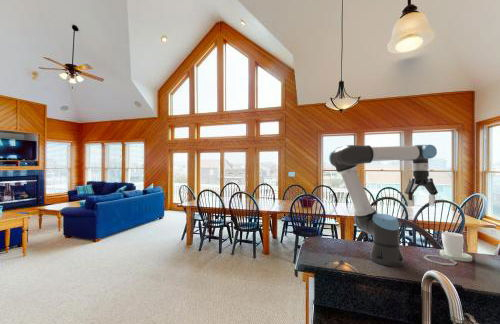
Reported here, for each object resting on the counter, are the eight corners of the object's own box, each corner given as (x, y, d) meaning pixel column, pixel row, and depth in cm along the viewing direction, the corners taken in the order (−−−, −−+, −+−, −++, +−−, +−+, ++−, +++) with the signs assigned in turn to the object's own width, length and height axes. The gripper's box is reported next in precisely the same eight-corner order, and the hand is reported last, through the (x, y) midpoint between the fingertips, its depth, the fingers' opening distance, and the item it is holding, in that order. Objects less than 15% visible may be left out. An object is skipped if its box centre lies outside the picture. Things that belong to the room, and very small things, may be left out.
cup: (437, 253, 124) (437, 231, 125) (452, 252, 125) (451, 231, 126) (454, 259, 115) (453, 236, 116) (469, 258, 116) (468, 236, 117)
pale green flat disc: (449, 260, 115) (449, 257, 115) (434, 251, 128) (434, 248, 128) (479, 262, 112) (478, 259, 113) (460, 253, 125) (460, 250, 125)
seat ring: (433, 264, 110) (433, 262, 110) (419, 255, 122) (419, 254, 122) (462, 266, 107) (462, 265, 107) (445, 257, 119) (445, 255, 119)
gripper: (407, 170, 126) (408, 206, 125) (444, 170, 130) (446, 206, 129) (397, 170, 134) (398, 204, 133) (432, 170, 137) (433, 204, 136)
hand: (421, 205), depth 131 cm, fingers open, 13 cm apart
